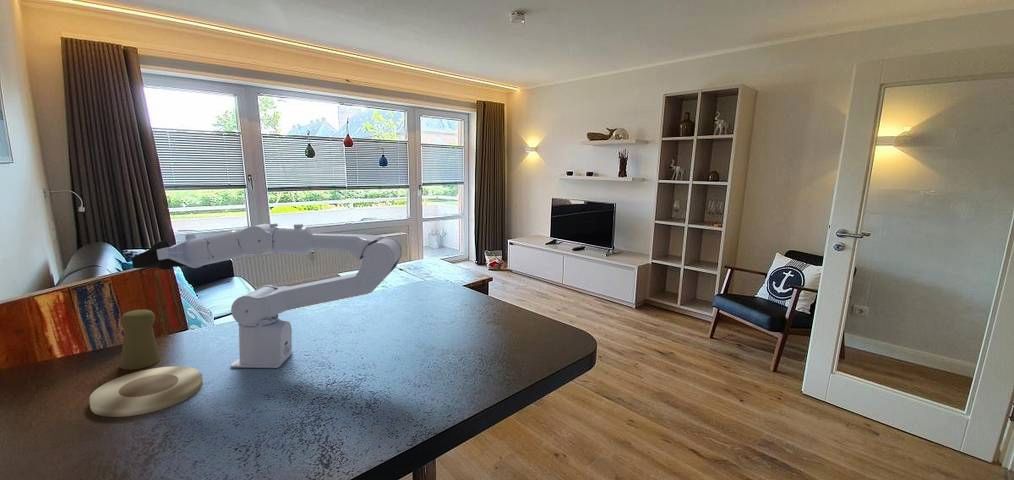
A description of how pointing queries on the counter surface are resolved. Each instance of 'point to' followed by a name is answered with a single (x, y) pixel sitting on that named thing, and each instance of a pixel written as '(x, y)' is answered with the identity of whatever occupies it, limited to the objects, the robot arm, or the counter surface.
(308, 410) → the counter surface
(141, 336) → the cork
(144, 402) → the birch stand
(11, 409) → the counter surface
